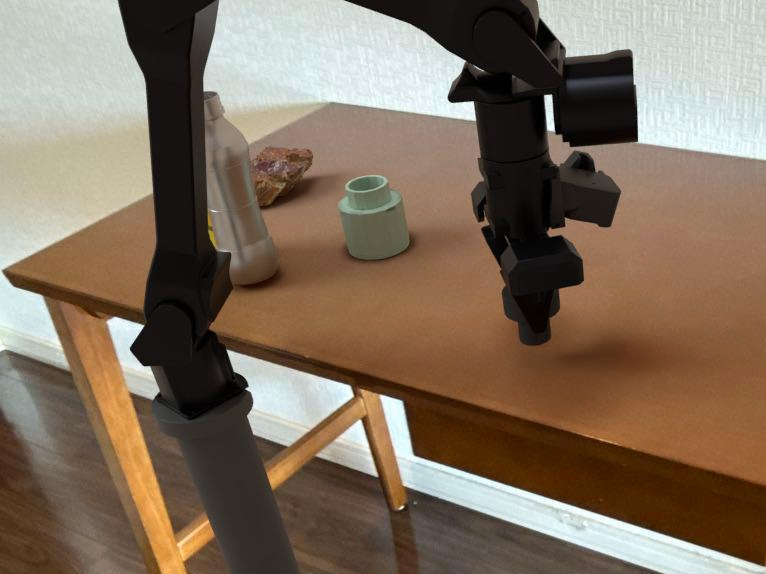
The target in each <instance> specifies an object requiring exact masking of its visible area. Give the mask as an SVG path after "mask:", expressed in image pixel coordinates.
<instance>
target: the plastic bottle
mask: <svg viewBox="0 0 766 574" xmlns="http://www.w3.org/2000/svg"><path fill="white" fill-rule="evenodd" d="M225 113H226V110H225V107H224V105H223V103H222V101H221V97H220V95H219V93H218V92H217V91H215V90H214V91H213V90H204V115H205V146H206V176H207V206H208V213H209V216H210V220H211V225H212V229H213V234H214V238H215V243H216V244H215V245H216V251H220V252H231V263H230V270H229V274H230V280H231V282H232V284H233V285H240V286H246V285H253V284H257V283H258V284H259V283H260V282H263V281H266V280H268V279H269V278H271V277H273V276H274V275H275V274H276V272H277V269H278V266H279V254H278V253H279V252H278V248H277V245H276V243H275V241H274V239H273V237H272V235H271V233H270V232H269V229H268V226H267V224H266V221H265V219H264V216H263V213H262V210H261V206H259V204H258V200H257V196H256V191H255V186H254V182H253V176H252V168H251V160H252V159H251V153H250V148H249V142H248V141H247V139H246V137H245V135H244V134H243V132H242V131H240V129H239V128H238V127H237V126H235V125H234V123H232V122H231V121H230V120H228V119H227V118H226V117H225V116H224V114H225Z"/></svg>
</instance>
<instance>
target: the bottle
mask: <svg viewBox="0 0 766 574" xmlns="http://www.w3.org/2000/svg"><path fill="white" fill-rule="evenodd" d="M344 189H345V194H346V196H344V197H343V198H342V199H341V200H340V201H339V202H338V206H337V208H338V212H339V216H340V217H339V218H340V221H341V225H342V230H343V234H344V237H345V238H344V239H345V242H346V247H347V249H348V252H349V254H350V255H351V256H352V257H354V258H356V259H360V260H365V261H374V260H383V259H387V258H391V257H393V256H396V255H398V254H400V253H402V252H404V251H405V250H406V249H407V248H408V247H409V246H410V243H411V241H410V240H411V239H410V233H409V227H408V222H407V217H406V210H405V206H404V201H403V196H402V194H401V193H400V192H399V190H396V189H393V188H390V184H389V181H388V179H387V177H385V176H383V175H379V174H367V175H362V176H358V177H354V178H353V179H351V180H349V181H348V182H347V183H346V184H345V185H344Z"/></svg>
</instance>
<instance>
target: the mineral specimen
mask: <svg viewBox="0 0 766 574" xmlns="http://www.w3.org/2000/svg"><path fill="white" fill-rule="evenodd" d="M313 159H314V154H313V151H312V150H310V149H309V148H297V147H295V148H292V149H289V148H287V147H279V146H278V147H276V146H272V145H269V146H266V147H265V148H263V149H262V150H261V152H258V154H257V155H255V158H253V159H250V160H251V168H252V176H253V182H254V186H255V191H256V196H257V200H258V204H259V207H265V206H270V205H272V203H274V202H275V201H276V200H277V198H278V197H279V196H283V197H284V196H287V195H288V194H289V193H290V191H291V190H292V189H294V187H295V186H296V185H297V184H298V183H300V182H301V180H302V178H304V175H305V173H306V172H308V171H309V170H310V168H311V167H312V165H313Z"/></svg>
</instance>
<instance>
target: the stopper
mask: <svg viewBox="0 0 766 574" xmlns="http://www.w3.org/2000/svg"><path fill="white" fill-rule="evenodd" d="M501 299H502V306H503V313H504V316H505V317H506V319H508V320H509V321H510V320H511V321H512V322H516V323H517V329H518V338H519V342H520V343H521V344H522V345H524V346H528V347H529V346H530V347H539V346H541V345H544V344H546V343H548V342H549V341H550V340H551V339H552V330H551V329H552V328H551V319H552V318H553V317H554V316H556V315H557V314H558V313H559V312H560V309H561V299H560V289H556V290H554V294H553V298H552V302H551V307H550V312H549V317H548V322H547V327H546V331H545V332H543V333H538V334H534V333H533V331H532V329H531V327H530V326H529V324H528V322H527V320H526V319H525V317H524V315H523V313H522V312H521V310H520V308H519V307H518V305H517V303H516V302H515V300H514V298H513V296H512V295H511V294H510V292H509V290H508V288H507V287H506V285H505V284H504V286H503V287H502V290H501Z"/></svg>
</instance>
